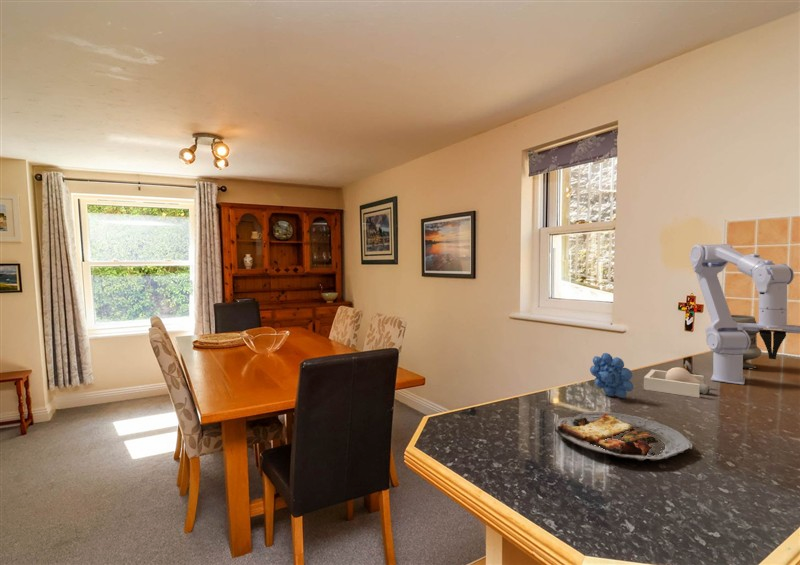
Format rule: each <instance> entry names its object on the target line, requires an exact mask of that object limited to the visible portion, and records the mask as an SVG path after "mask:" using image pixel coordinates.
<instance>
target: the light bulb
mask: <svg viewBox="0 0 800 565" xmlns="http://www.w3.org/2000/svg"><path fill="white" fill-rule="evenodd" d="M667 371H668V372H667V374H666V380H673V381H680V382H688V383H695V384H700V394H702V395H706V394H708V393H709V392H710V386H709V384H706V383H704V384H703V383H701V381H699V380H697V379H695V378H694V377H693V376H692V375H691V374H692V373H690V371H688V370H687V369H686V368H684V367H680V366H677V367H672V368H670V369H668V370H667Z"/></svg>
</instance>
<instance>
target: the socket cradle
mask: <svg viewBox="0 0 800 565" xmlns="http://www.w3.org/2000/svg"><path fill="white" fill-rule="evenodd" d="M667 372H668V370H660V369H653V368H651V369H650V371H649V372H648V373H647V374H645V375H644V377H643V390H644V391H645V390H646V391H653V392H659V393H666V394H672V395H678V396H679V395H680V396H686V397H691V398H692V397H693V398H698V399H700V396H701V395H700V394H701V393H700V384H695V383H688V382H680V381H673V380H666V374H667ZM690 374H691V375H692V376H693V377H694V378H695V379H697V380H699V381H701V383H703V384H705V382H704V381H705V380H704V375H700V374H692V373H690Z"/></svg>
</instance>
